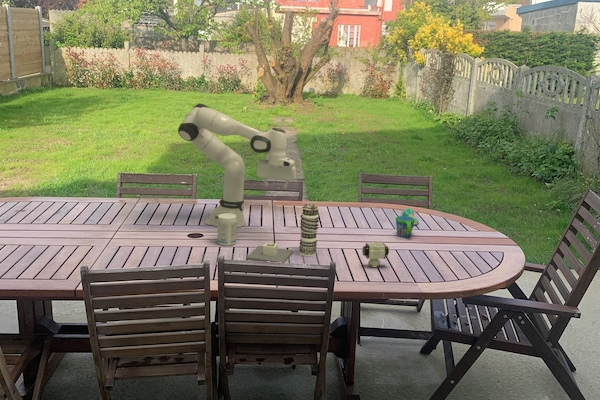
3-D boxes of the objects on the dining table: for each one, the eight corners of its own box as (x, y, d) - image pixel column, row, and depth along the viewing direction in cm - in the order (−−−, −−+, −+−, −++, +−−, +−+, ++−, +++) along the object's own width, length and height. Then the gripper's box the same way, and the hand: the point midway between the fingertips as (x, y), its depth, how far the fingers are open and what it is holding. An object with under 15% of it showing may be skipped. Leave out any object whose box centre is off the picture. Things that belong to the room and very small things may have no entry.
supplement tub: (232, 239, 314) (233, 212, 310) (238, 245, 306) (239, 217, 302) (214, 241, 310) (215, 213, 306) (220, 247, 301) (221, 219, 298)
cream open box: (262, 254, 291) (263, 245, 290) (266, 250, 297) (267, 241, 295) (274, 256, 290) (274, 246, 288) (277, 252, 295) (278, 243, 294)
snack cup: (391, 231, 344) (393, 213, 342) (409, 231, 345) (411, 214, 342) (396, 239, 329) (398, 222, 327) (415, 240, 330) (417, 222, 327)
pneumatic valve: (360, 264, 289) (363, 240, 286) (384, 264, 291) (386, 240, 288) (363, 268, 284) (366, 244, 281) (387, 268, 286) (390, 244, 283)
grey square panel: (246, 259, 287) (247, 247, 285) (258, 247, 304) (258, 236, 302) (282, 264, 283) (283, 252, 281) (292, 252, 300) (293, 240, 298)
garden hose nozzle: (409, 223, 349) (431, 214, 361) (386, 213, 361) (409, 205, 373) (407, 234, 352) (429, 225, 364) (385, 223, 364) (407, 215, 376)
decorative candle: (310, 258, 294) (314, 208, 287) (294, 253, 298) (297, 205, 292) (320, 253, 301) (323, 204, 295) (304, 249, 306) (307, 201, 300)
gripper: (255, 159, 302) (254, 186, 306) (294, 163, 298) (293, 191, 301) (259, 157, 308) (258, 183, 312) (298, 161, 304) (296, 188, 307)
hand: (275, 187), depth 307 cm, fingers open, 8 cm apart
